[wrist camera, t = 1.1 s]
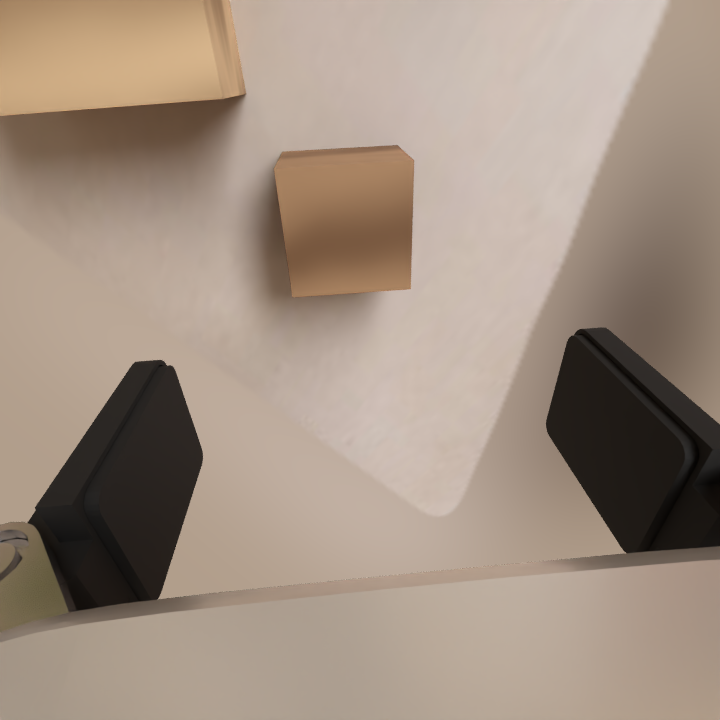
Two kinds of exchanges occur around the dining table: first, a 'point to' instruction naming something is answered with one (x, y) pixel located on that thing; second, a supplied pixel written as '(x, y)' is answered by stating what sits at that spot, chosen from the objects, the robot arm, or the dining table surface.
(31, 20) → the oak base
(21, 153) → the dining table surface
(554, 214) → the dining table surface
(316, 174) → the walnut block
